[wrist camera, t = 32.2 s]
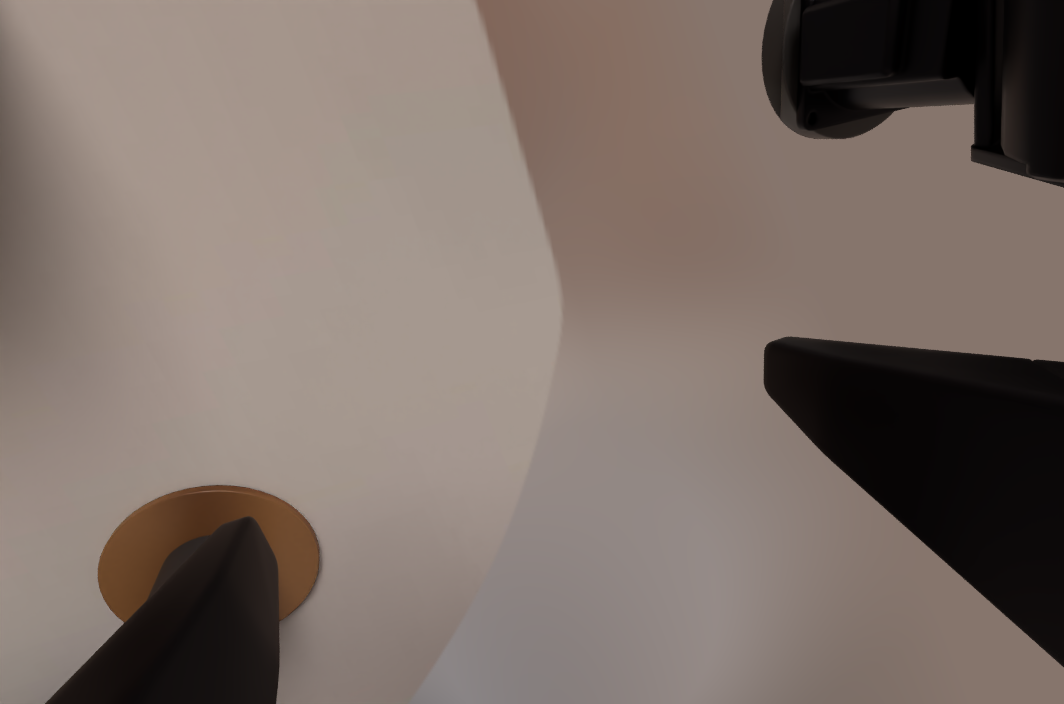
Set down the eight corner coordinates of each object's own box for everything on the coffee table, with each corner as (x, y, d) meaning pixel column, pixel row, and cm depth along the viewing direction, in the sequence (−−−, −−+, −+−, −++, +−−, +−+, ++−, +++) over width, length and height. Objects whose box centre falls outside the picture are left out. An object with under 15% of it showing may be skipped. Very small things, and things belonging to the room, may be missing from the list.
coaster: (279, 458, 21) (277, 463, 21) (344, 593, 25) (344, 600, 24) (57, 528, 19) (52, 535, 19) (160, 662, 23) (157, 671, 23)
